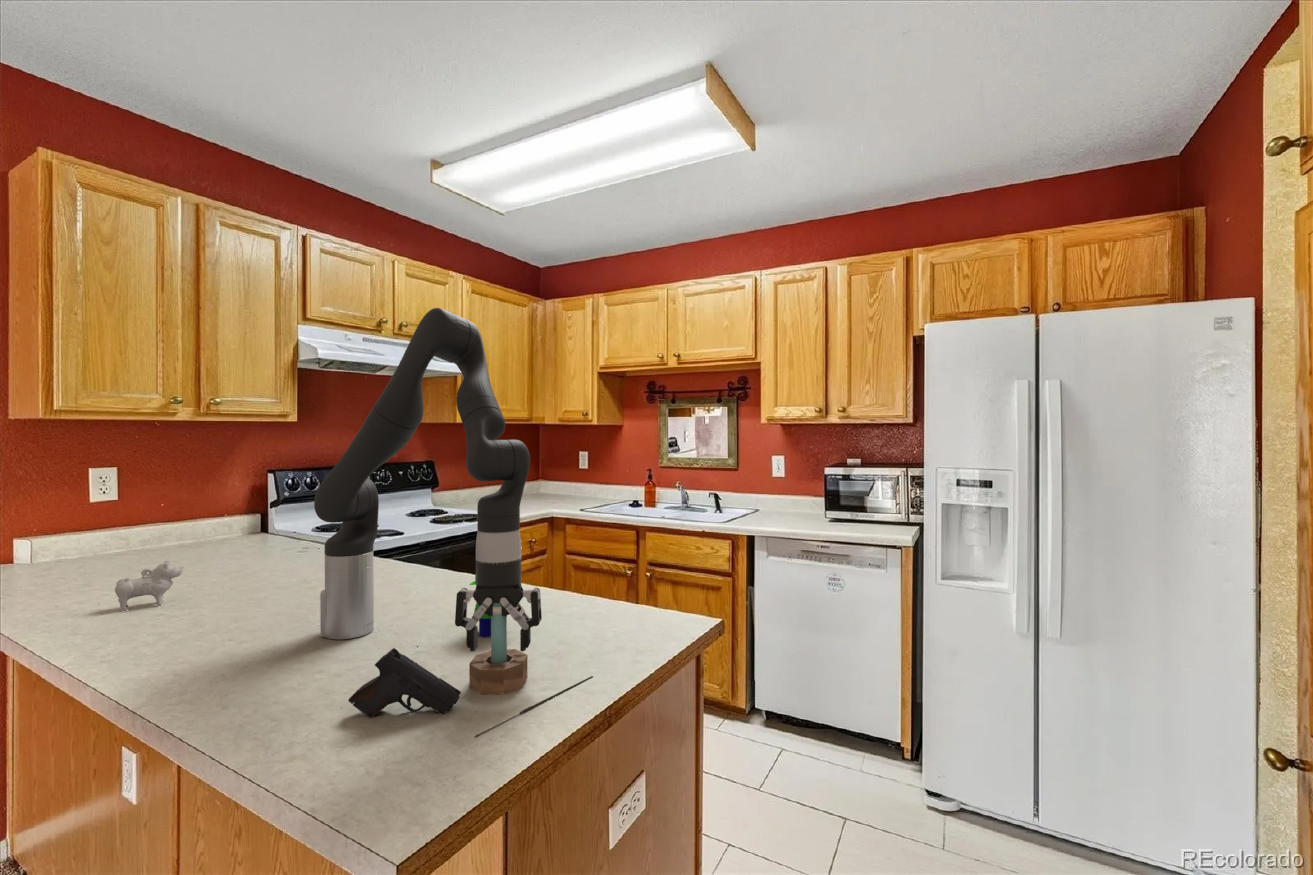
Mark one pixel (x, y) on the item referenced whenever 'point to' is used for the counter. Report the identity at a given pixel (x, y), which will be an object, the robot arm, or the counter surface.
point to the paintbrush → (540, 703)
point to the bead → (498, 673)
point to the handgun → (403, 687)
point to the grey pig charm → (148, 584)
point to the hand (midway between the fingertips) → (498, 649)
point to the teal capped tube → (498, 636)
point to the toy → (483, 620)
